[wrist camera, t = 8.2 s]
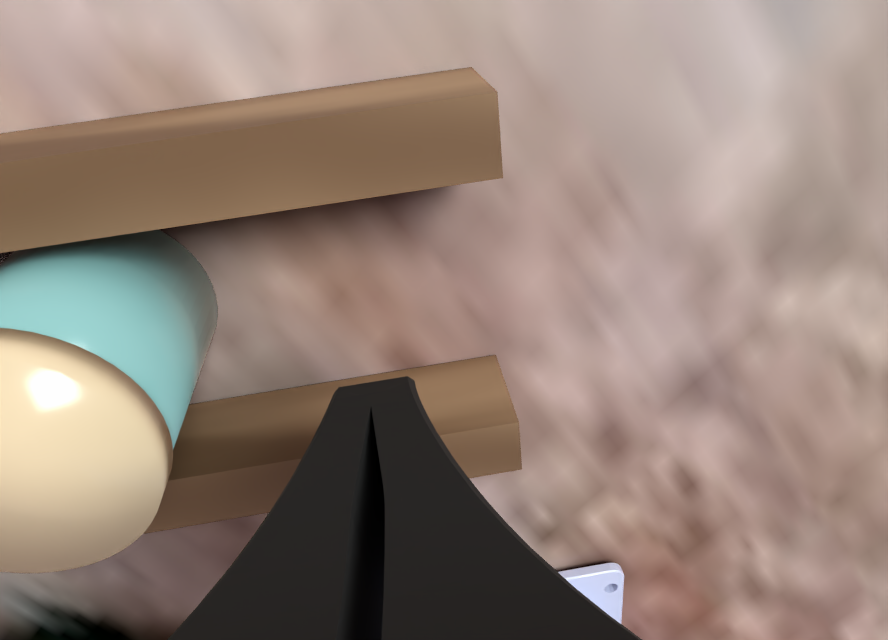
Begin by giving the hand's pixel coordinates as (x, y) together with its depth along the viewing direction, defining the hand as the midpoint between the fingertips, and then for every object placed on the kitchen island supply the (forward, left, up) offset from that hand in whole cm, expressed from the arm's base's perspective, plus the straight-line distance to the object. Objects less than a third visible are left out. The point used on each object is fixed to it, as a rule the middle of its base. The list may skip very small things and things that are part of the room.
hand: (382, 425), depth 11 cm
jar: (0, +7, -6) cm, 9 cm away
